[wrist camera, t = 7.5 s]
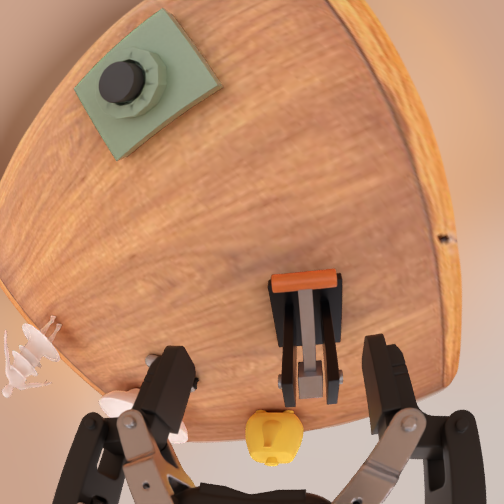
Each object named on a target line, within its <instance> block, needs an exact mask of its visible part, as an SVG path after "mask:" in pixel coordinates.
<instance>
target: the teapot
mask: <svg viewBox="0 0 504 504" xmlns="http://www.w3.org/2000/svg"><path fill="white" fill-rule="evenodd" d="M245 435H246V443H247V447H248V450H249V453H250V456H251V457H252V459H253V460H255V461H257V462H260V463H265V465H267V466H277V465H278V463H290V462H291V461H293V459H294V457H295V456H296V454H297V452H298V450H299V447H300V445H301V442H302V438H303V426H302V423H301V422H300V420H299V418H298V417H297V416H296V415H294V411H292V410H286V411H283V413H267V412H266V411H264V410H257V411H256V413H255V414H253V415H252V416H251V417H250V418H249V420H248V421H247V424H246V429H245Z"/></svg>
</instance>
